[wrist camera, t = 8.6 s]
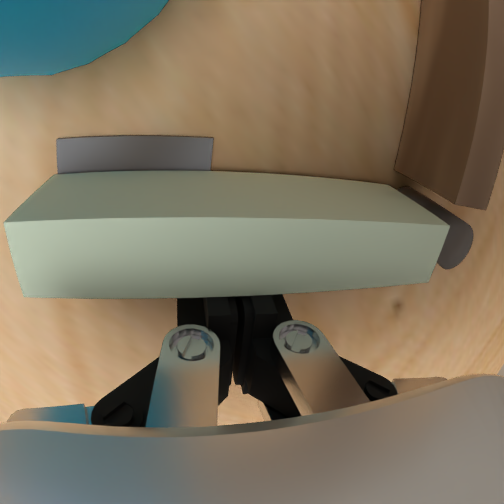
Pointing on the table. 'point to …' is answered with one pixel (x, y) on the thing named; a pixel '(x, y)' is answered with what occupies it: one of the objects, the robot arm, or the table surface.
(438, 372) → the table surface
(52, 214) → the leg
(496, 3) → the dock
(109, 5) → the mug
